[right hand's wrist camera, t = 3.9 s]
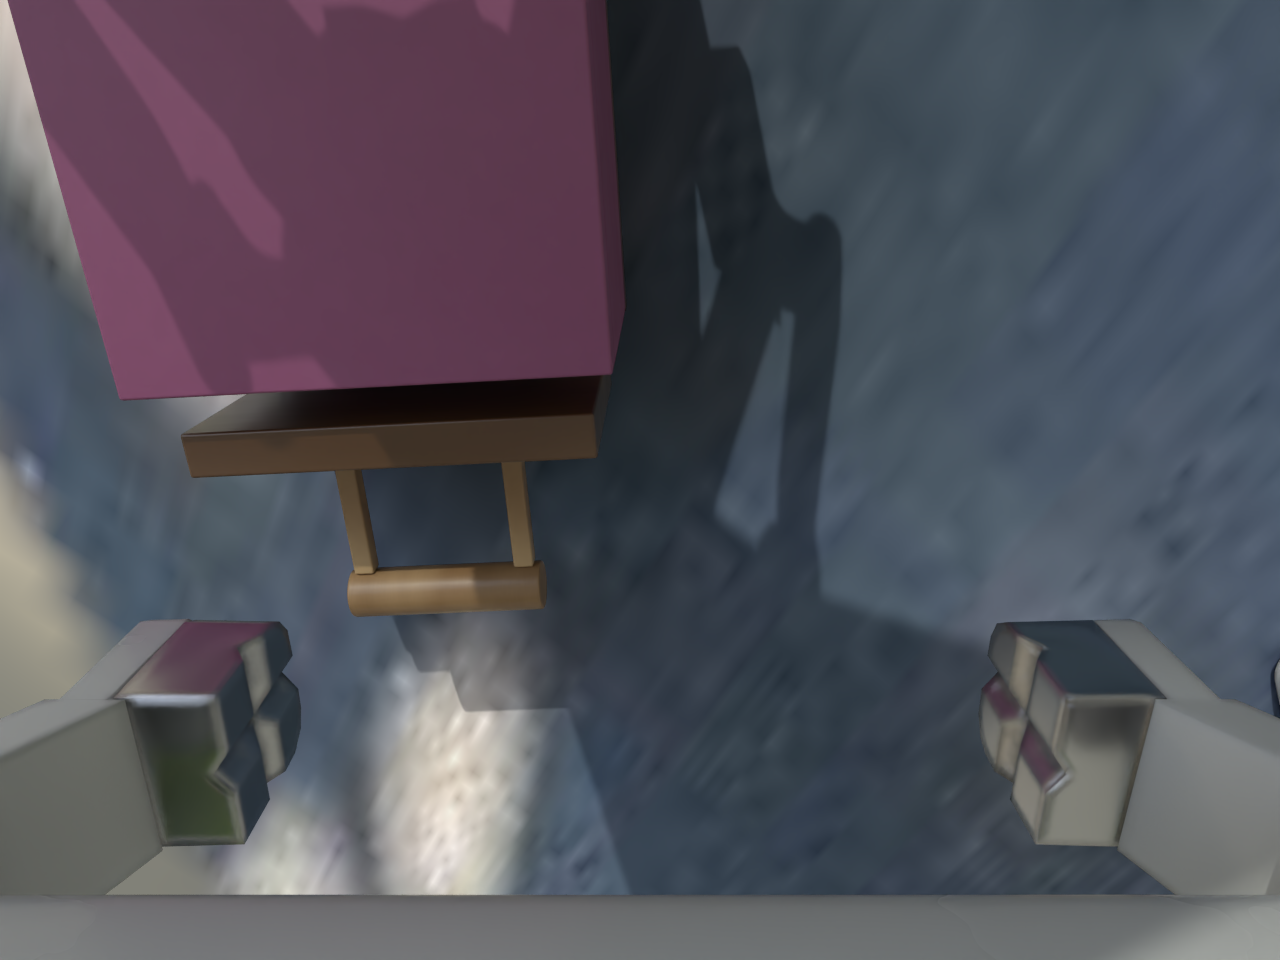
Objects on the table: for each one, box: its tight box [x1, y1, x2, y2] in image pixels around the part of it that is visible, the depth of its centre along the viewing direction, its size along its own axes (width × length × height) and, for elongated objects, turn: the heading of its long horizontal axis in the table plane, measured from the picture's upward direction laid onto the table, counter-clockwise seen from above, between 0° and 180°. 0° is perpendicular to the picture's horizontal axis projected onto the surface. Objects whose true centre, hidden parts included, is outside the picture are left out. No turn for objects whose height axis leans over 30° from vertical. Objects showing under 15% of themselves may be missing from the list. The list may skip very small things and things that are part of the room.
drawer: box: [181, 374, 611, 617], centre depth 23 cm, size 26×10×7 cm, turn 3°
